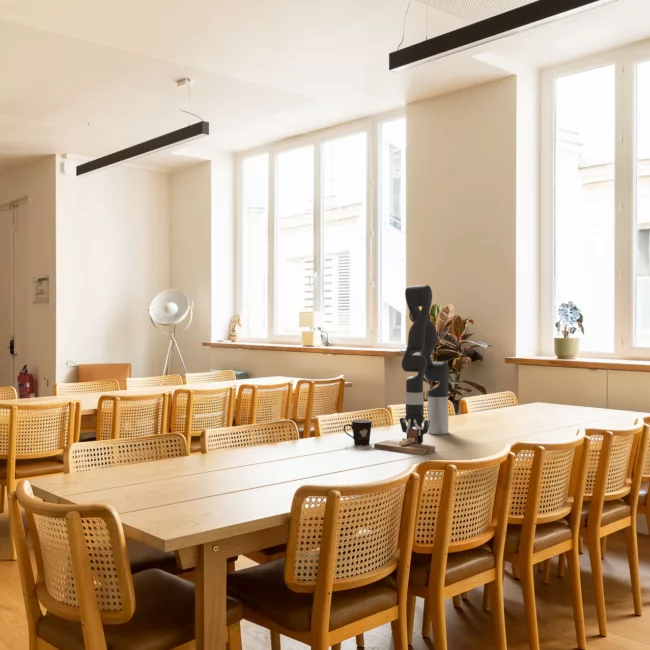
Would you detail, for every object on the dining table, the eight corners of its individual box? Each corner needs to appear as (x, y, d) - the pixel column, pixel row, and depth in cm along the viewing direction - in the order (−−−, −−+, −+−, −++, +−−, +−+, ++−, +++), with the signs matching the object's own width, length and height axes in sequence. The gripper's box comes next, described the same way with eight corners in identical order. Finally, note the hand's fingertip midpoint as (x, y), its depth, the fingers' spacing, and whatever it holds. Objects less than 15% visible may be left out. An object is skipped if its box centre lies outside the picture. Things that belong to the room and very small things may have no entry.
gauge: (412, 445, 303) (412, 428, 303) (421, 446, 300) (421, 429, 300) (397, 449, 293) (397, 432, 293) (406, 451, 290) (406, 433, 290)
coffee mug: (373, 442, 310) (373, 419, 310) (369, 446, 302) (369, 422, 301) (347, 441, 313) (347, 418, 313) (343, 445, 305) (342, 421, 304)
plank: (387, 444, 305) (387, 440, 305) (434, 451, 291) (434, 446, 291) (374, 448, 297) (374, 443, 297) (422, 455, 283) (422, 449, 283)
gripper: (434, 403, 298) (434, 443, 299) (404, 400, 307) (404, 440, 307) (425, 405, 292) (425, 446, 293) (395, 402, 301) (395, 442, 301)
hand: (414, 443), depth 300 cm, fingers closed on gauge, 4 cm apart
